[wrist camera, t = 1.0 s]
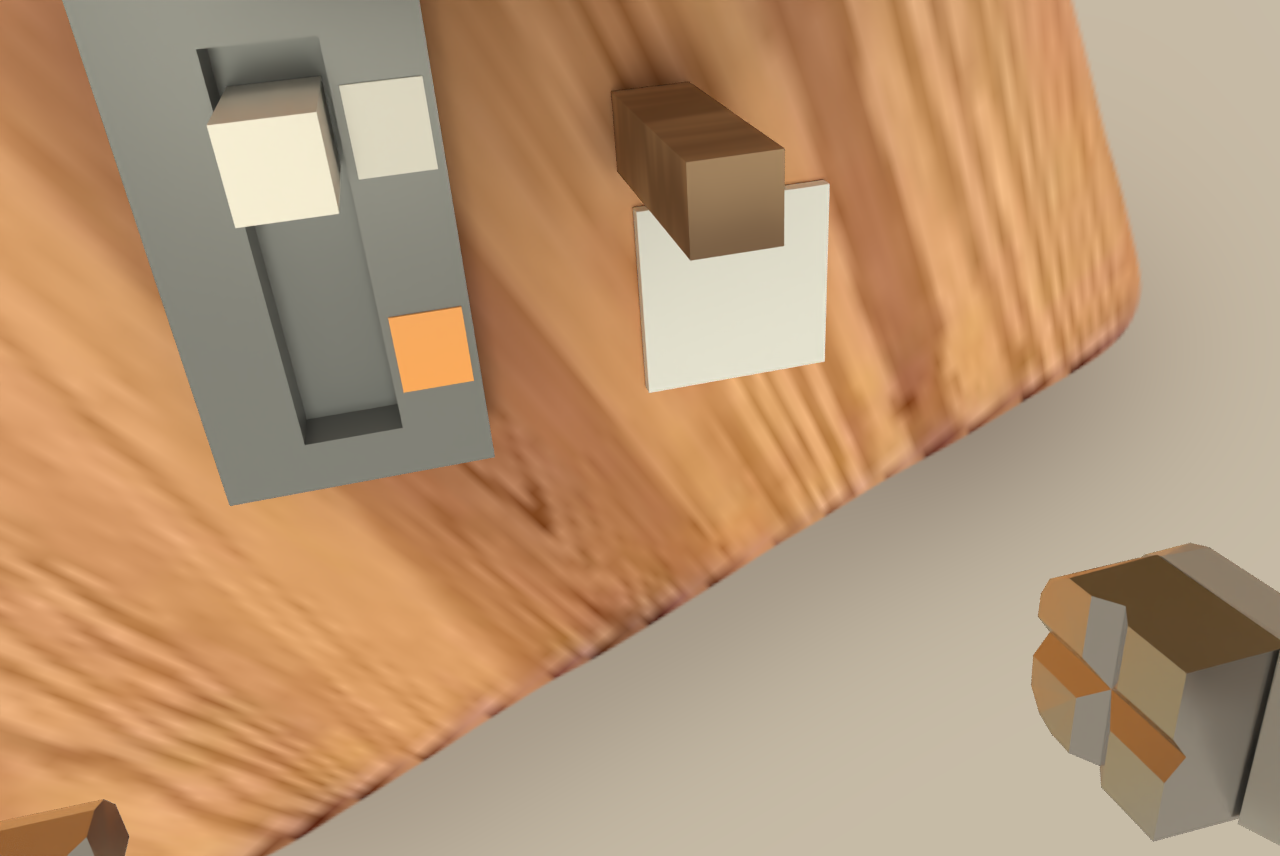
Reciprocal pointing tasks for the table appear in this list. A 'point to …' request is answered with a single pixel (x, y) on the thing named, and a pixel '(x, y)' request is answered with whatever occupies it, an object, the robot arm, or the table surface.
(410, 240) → the switch panel
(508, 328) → the table surface
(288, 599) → the table surface
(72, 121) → the table surface
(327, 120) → the switch tab
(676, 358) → the pad
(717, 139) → the brown wooden beam
